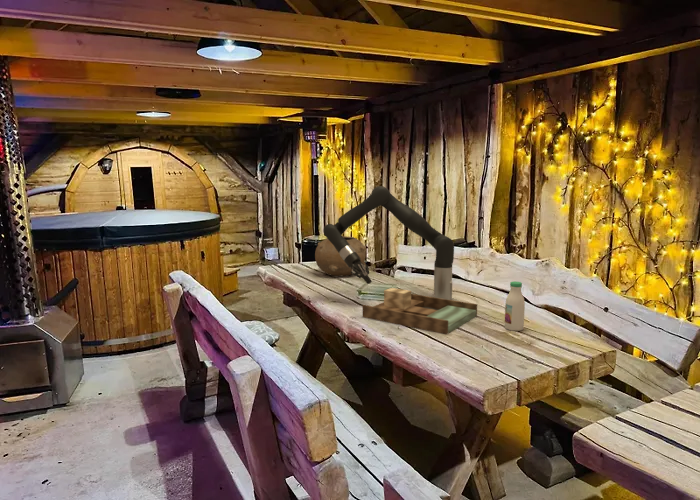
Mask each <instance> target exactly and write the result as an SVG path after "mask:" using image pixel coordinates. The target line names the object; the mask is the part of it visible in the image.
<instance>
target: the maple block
mask: <svg viewBox="0 0 700 500" xmlns="http://www.w3.org/2000/svg"><path fill="white" fill-rule="evenodd" d="M411 294H412V290H409V289H408V290H407V289H401V288H400V289H399V288H394V287H390V288H388V289H384V290H383V302H384V306H388V307H394V308H399V309H406V308H408V307H411Z"/></svg>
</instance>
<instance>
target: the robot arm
mask: <svg viewBox="0 0 700 500" xmlns="http://www.w3.org/2000/svg"><path fill="white" fill-rule="evenodd" d="M378 207H383V208H384V209H385V210H387V211H388V212H390V214H392V215H393V217H395V219H397V220H398V221H399V222H400V224H402V225H403V226H405V228H407V229H409V230H410V231H411V232H413V233H414V234H416V235H417V236H419V237H421V238H422V239H424V240H425V241H426V242H427V243H428V244H430V246H432V248H433V249H435V260H434V268H433V270H434V271H433V277H434V278H433V297H435V298H441V299H447V300H453V263H454V260H455V259H454V255H455V244H454V241H453V239H452V238H451V237H449V236H446V235H444V234H443V233H441V232H440V231H438V230H437V229H435V228H434V227H433V226H431V224H430V223H429V222H428V221H427V219H425V218H424V217H423V216H422V215H421V214H419V213H418V212H417V211H416V210H415V209H414V208H412V207H410V206H409V205H407V204H406V203H403V202H402V201H400V200H398V198H396V197H395V196H394V195H393V194H392V193H391V192H390V190H389V189H388V188H387V187H385V186H383V185H378V186H375V187H374V188H373V189H372V190H371V193H370V195H368V197H367V198H365V199H364V200H363V201H361V202H360V203H359V204H357V205H356V206H354V207H352V208H351V209H349V210H347V211H346V212H345V213H344V214H342V215H340V217H339V218H338V219H337V222H336V223H334V224H333V223H332V224H331V223H328V224H326V225H324V227H323V230H322V231H323V235H324V236H325V238H328V240H329V241H330V242H331V243H332V244H333V245H334V247H335V248H336V250H337V251H338V253H339V254H340V256H341V257H342V259H343V260H344V261H345V263H346V264H347V265H348V267H349V268H351V269H352V271H351V273H352V275H353V276H355V277H357V278H359V279H363V280H364V282H365V283H366V284H367V285H370V284H371V283H372V282H373V281H372V279H371V278H370V276H369V275H370V268H369V265H367V264H366V266H364V265H363V263H362V262H361V258H360V257H359V255H358V254H357V253H356V251H355V250H354V249H353V248H352V247H351V246H350V244H349V243H348V242H347V240H346V239H345V238H344V237H343V234H344V233H345V232H346V231H347V230H348V229H349V228H350V227H352V226H353V225H355V224H356V223H357V222H358V221H360V220H361V219H362V218H363V217H364V216H366V215H367V214H369V213H370V212H371V211H373V210H375V209H377V208H378Z"/></svg>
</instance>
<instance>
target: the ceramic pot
mask: <svg viewBox="0 0 700 500" xmlns="http://www.w3.org/2000/svg"><path fill="white" fill-rule="evenodd" d="M342 236H343V235H342ZM343 237H344V238H345V239H346V240H347V242H348V243H349V244H350V246H351V247H352V248H353V249H354V250H355V251H356V253H357V254H358V255H359V257H360V258H361V262H362V263H363V265H364V266H366V265H367V264H366V262H365V261H366V254H367V253H366V245H364V244H363V242H362V241H361V240H360V239H358V238H356V237H354V236H346V235H345V236H343ZM314 252H315V253H314V258H315V263H316V265H317V267H318V269H319V270H321V271H322V272H323V273H325V274H327V275H329V276H331V277H347V276H348V277H349V276H353V274H352V273H351V271H352V269H351V268H349V267H348V265H347V264H346V263H345V261H344V260H343V259H342V257H341V256H340V254H339V253H338V251H337V250H336V248H335V247H334V245H333V244H332V243H331V242H330V241H329V240H328V238H327V237H325V239H323V240H322V241H318V243H317V246H316V248H315V251H314Z"/></svg>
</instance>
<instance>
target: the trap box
mask: <svg viewBox="0 0 700 500" xmlns="http://www.w3.org/2000/svg"><path fill="white" fill-rule="evenodd" d="M477 316H478V304H477V303H472V302H466V301H465V302H464V301H458V300H453V299H452V300H447V299H441V298H435V297H434V296H427V295H422V294H421V295H420V294H414V293H411V307H408V308H406V309H399V308H394V307H388V306H384V301H383V302H382V303H378V304H376V305H366V304H362V318H366V319H369V320H376V321H381V322H385V323H390V324H394V325H400V326H405V327H410V328H413V329H414V328H415V329H420V330H425V331H428V332H433V333H438V334H444V335H448V334H449V333H451V332H454V331H455V330H456V329H457V328H459V327H461V326H463V325H464V324H466V323H467V322H469V321H471V320H473V319H475V318H476V317H477Z"/></svg>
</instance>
